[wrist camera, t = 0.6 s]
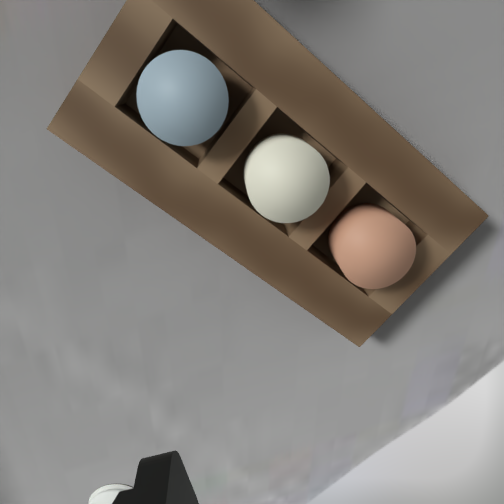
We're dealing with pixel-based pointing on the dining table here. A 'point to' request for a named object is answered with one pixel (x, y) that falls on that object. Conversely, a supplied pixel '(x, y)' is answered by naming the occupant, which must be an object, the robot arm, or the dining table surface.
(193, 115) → the slate button
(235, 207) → the wooden slotted tray
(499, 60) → the dining table surface
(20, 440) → the dining table surface
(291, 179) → the cream button
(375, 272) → the terracotta button
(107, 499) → the chess piece
